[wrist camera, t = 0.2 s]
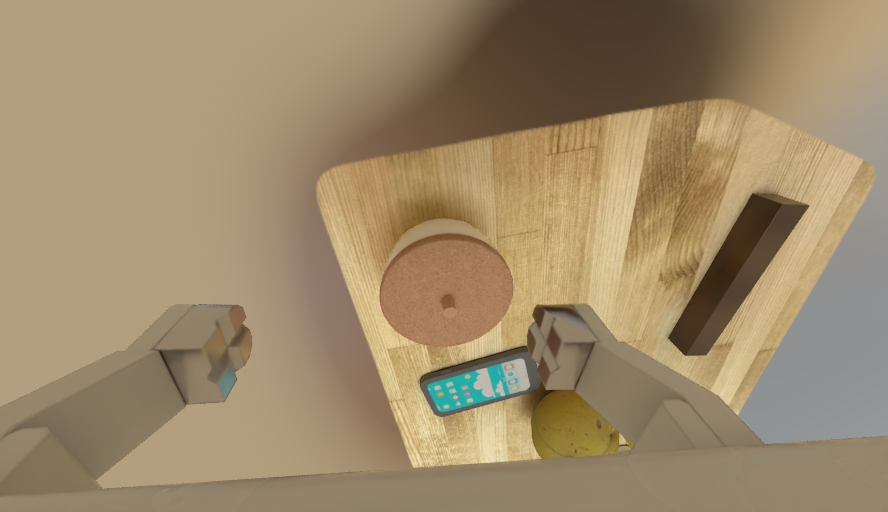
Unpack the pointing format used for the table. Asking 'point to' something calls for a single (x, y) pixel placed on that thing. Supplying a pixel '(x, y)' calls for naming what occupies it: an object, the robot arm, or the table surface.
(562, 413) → the fruit
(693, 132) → the table surface
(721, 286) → the rail
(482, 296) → the trinket box
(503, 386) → the smartphone
